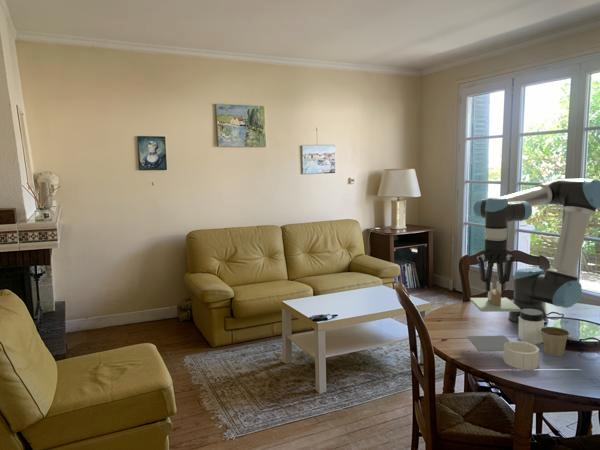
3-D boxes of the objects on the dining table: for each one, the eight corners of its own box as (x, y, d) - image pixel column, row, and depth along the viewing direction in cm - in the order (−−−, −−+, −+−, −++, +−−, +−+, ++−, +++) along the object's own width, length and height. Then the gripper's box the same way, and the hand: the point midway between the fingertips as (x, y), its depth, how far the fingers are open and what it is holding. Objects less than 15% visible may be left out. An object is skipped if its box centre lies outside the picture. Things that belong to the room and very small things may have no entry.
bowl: (530, 356, 161) (530, 340, 161) (544, 370, 150) (545, 353, 150) (499, 356, 162) (499, 341, 161) (511, 370, 151) (511, 353, 150)
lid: (506, 300, 176) (506, 286, 175) (520, 311, 162) (520, 296, 162) (470, 300, 177) (470, 287, 177) (481, 311, 164) (481, 297, 163)
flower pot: (533, 349, 167) (534, 327, 166) (557, 347, 168) (558, 325, 167) (549, 360, 158) (550, 336, 157) (574, 358, 159) (575, 334, 158)
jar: (532, 346, 170) (533, 316, 168) (514, 339, 177) (514, 310, 175) (547, 342, 173) (548, 312, 172) (529, 335, 181) (530, 307, 179)
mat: (504, 336, 180) (504, 335, 180) (519, 352, 165) (519, 350, 165) (466, 337, 181) (466, 336, 181) (478, 352, 167) (478, 351, 166)
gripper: (513, 236, 170) (511, 296, 173) (471, 237, 171) (470, 296, 174) (521, 240, 162) (519, 302, 165) (477, 240, 164) (476, 302, 167)
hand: (494, 299), depth 170 cm, fingers closed on lid, 2 cm apart
